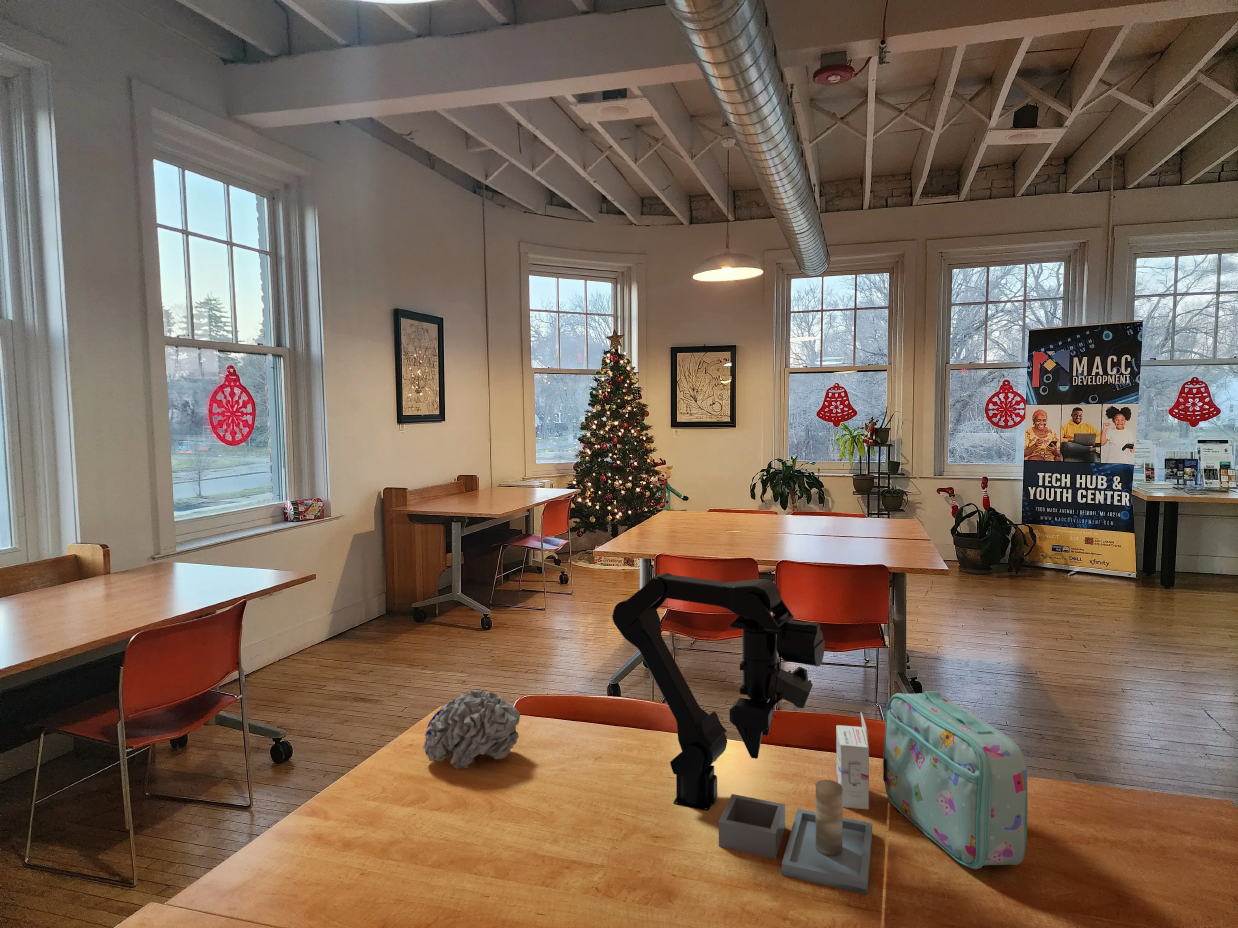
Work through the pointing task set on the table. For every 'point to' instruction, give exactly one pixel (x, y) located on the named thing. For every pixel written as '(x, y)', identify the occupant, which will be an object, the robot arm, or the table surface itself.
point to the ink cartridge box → (853, 765)
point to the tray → (828, 870)
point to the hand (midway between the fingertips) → (759, 745)
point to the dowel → (829, 817)
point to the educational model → (472, 729)
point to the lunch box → (956, 779)
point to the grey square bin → (752, 826)
